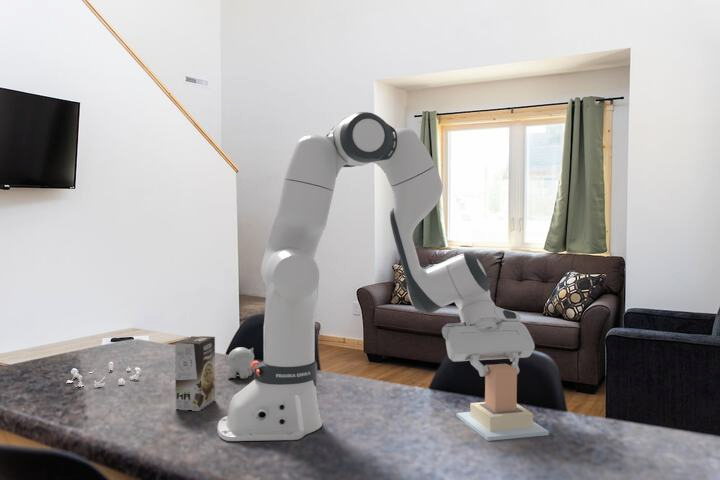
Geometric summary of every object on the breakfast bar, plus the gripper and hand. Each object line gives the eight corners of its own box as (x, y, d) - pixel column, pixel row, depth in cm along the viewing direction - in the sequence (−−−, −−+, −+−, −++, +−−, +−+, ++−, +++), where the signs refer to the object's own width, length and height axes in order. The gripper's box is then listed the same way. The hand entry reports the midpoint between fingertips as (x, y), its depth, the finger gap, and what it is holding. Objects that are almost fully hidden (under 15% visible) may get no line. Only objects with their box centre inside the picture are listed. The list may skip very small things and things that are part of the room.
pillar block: (495, 412, 133) (495, 370, 132) (485, 405, 137) (485, 364, 137) (516, 410, 134) (516, 369, 133) (505, 403, 139) (506, 363, 138)
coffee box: (199, 411, 145) (199, 343, 144) (174, 410, 146) (173, 342, 146) (216, 400, 154) (216, 336, 153) (192, 399, 155) (191, 335, 154)
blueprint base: (487, 440, 126) (487, 422, 126) (456, 416, 142) (456, 399, 142) (548, 435, 130) (549, 416, 130) (512, 411, 145) (512, 395, 145)
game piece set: (50, 385, 169) (50, 371, 168) (106, 369, 187) (106, 356, 187) (104, 393, 161) (104, 379, 161) (157, 375, 179) (157, 362, 179)
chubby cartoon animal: (263, 370, 183) (263, 342, 183) (246, 381, 172) (246, 350, 171) (241, 369, 185) (241, 341, 185) (223, 379, 173) (222, 349, 173)
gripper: (443, 315, 140) (460, 369, 131) (525, 312, 145) (547, 363, 136) (436, 331, 145) (452, 384, 135) (515, 328, 149) (536, 378, 140)
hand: (500, 374), depth 136 cm, fingers open, 6 cm apart
